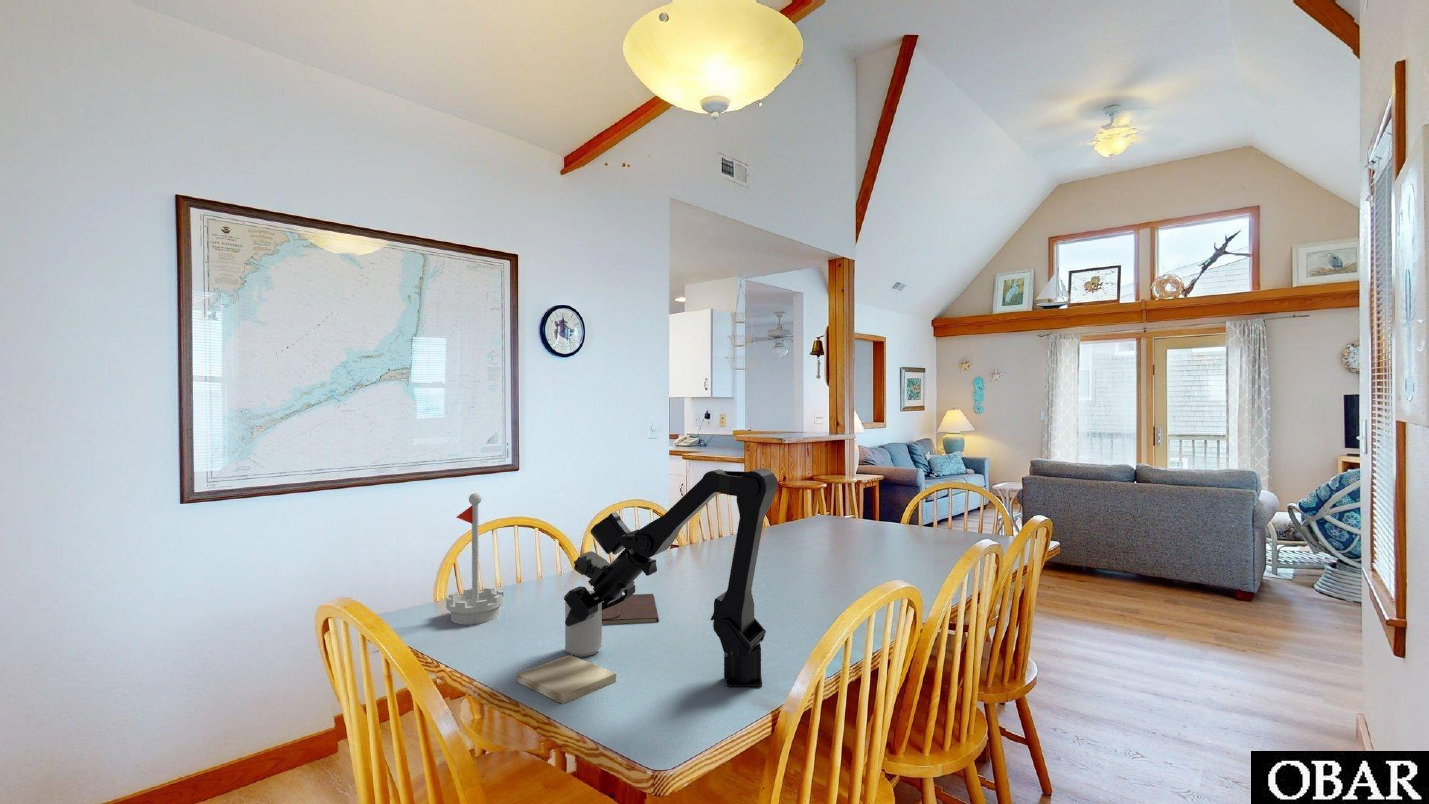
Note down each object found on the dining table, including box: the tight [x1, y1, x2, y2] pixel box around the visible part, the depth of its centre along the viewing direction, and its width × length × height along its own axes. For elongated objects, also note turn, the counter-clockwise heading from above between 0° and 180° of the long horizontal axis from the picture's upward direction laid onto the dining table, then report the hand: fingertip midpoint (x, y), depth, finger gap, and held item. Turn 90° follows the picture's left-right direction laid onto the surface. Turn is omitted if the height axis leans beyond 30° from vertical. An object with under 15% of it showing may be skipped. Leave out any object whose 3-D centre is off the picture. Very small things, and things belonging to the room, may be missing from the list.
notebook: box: [602, 593, 660, 625], centre depth 165 cm, size 15×20×2 cm
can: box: [564, 589, 603, 657], centre depth 138 cm, size 8×8×12 cm
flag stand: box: [445, 492, 505, 625], centre depth 161 cm, size 13×13×30 cm
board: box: [516, 654, 617, 704], centre depth 123 cm, size 14×12×2 cm
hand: (577, 618), depth 139 cm, fingers closed on can, 7 cm apart
